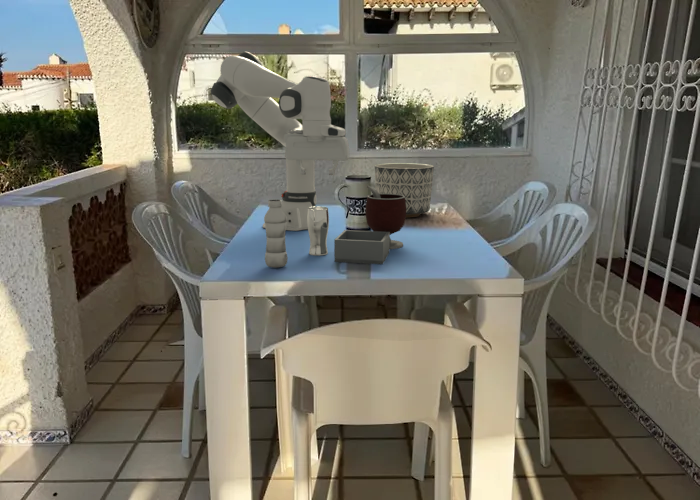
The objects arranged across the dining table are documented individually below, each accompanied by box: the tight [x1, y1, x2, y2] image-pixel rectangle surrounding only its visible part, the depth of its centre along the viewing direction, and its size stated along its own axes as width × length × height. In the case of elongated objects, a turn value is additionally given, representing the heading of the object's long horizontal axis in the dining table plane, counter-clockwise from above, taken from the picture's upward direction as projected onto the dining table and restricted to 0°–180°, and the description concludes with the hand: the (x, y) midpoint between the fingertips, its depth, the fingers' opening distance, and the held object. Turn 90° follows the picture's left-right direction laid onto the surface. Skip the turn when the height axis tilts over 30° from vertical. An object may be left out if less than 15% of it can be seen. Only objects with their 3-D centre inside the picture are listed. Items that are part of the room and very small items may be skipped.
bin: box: [333, 229, 391, 265], centre depth 184 cm, size 15×15×7 cm
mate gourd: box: [365, 185, 407, 250], centre depth 199 cm, size 16×14×20 cm
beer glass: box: [307, 205, 330, 257], centre depth 187 cm, size 7×7×15 cm
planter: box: [374, 162, 435, 219], centre depth 258 cm, size 26×26×22 cm
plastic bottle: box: [263, 198, 289, 269], centre depth 170 cm, size 6×7×20 cm
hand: (317, 174), depth 183 cm, fingers open, 8 cm apart
